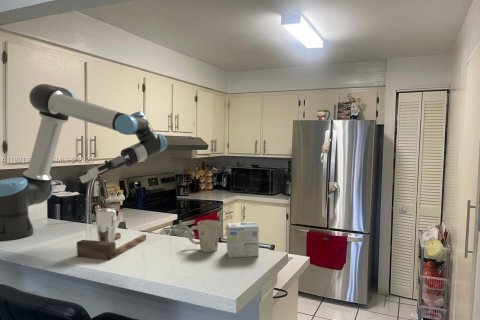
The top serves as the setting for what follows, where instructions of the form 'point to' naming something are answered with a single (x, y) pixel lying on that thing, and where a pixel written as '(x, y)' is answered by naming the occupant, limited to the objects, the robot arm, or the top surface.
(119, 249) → the brown u-shaped block
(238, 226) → the light bulb box
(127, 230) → the top surface
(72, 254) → the top surface
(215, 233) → the mug
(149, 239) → the top surface
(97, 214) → the metal tumbler
